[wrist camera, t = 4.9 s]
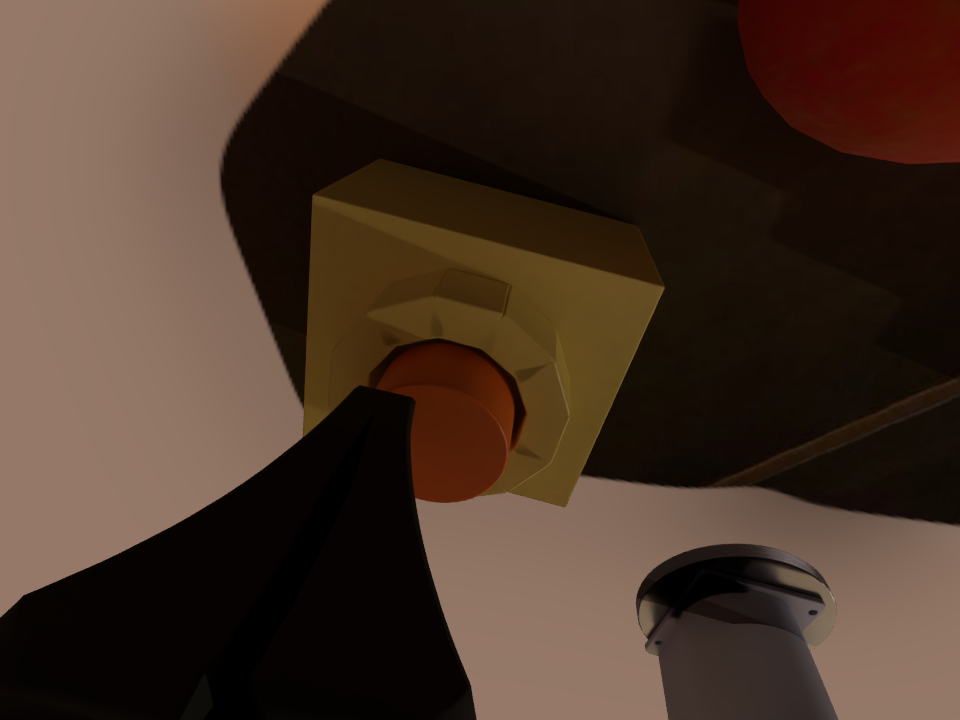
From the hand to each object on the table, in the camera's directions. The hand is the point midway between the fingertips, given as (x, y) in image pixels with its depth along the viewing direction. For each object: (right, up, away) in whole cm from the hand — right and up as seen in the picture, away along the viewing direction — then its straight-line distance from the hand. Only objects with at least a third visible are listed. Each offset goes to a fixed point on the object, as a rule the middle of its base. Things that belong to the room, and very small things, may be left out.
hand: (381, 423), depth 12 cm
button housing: (+2, +4, +9) cm, 11 cm away
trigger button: (+1, 0, +3) cm, 3 cm away
